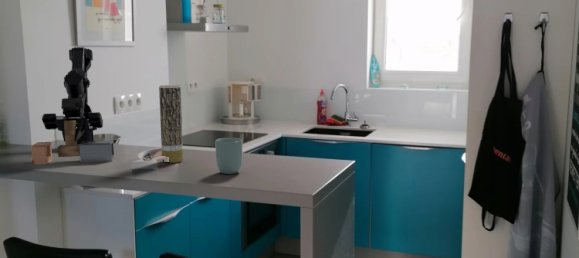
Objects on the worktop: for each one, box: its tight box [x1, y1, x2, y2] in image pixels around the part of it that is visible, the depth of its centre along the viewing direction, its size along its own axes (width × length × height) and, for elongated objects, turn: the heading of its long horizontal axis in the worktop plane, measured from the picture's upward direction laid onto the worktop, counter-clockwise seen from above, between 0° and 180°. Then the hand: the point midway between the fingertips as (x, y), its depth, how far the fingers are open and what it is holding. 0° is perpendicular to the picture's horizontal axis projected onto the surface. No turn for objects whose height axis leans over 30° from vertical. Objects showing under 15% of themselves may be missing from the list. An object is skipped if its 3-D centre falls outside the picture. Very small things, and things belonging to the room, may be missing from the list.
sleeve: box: [79, 140, 115, 163], centre depth 194 cm, size 10×5×6 cm, turn 98°
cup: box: [214, 137, 244, 175], centre depth 173 cm, size 8×8×10 cm
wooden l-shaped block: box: [57, 120, 80, 158], centre depth 193 cm, size 16×3×12 cm, turn 98°
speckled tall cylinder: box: [158, 84, 184, 164], centre depth 190 cm, size 7×7×25 cm
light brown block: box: [30, 141, 53, 166], centre depth 192 cm, size 4×7×6 cm, turn 7°
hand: (70, 141), depth 191 cm, fingers closed on wooden l-shaped block, 3 cm apart
